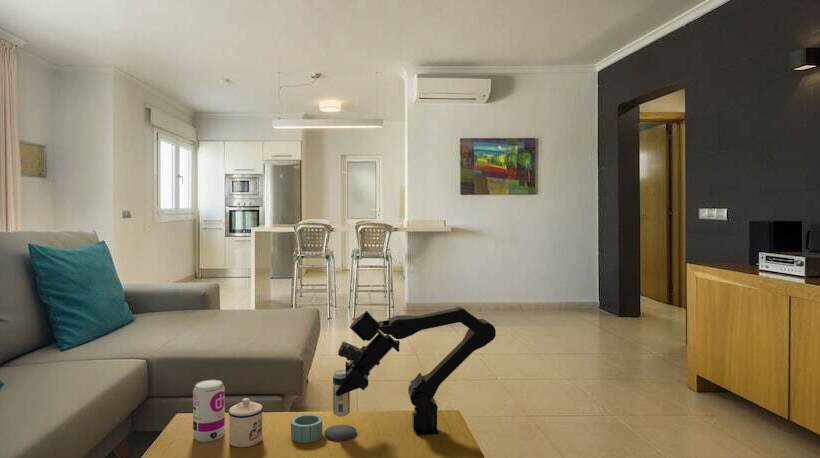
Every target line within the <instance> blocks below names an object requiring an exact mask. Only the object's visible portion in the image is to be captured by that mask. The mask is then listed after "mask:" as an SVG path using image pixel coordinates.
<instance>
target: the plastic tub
mask: <svg viewBox="0 0 820 458" xmlns="http://www.w3.org/2000/svg"><path fill="white" fill-rule="evenodd" d="M322 437H323V417H322V416H321V415H318V414H313V413H307V414H306V413H305V414H300V415H296V416H294V417H293V418H291V419H290V439H291V440H292V441H293V442H295V443H299V444H308V443H315V442H317V441H319V440H320V439H321V438H322Z"/></svg>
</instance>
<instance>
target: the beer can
mask: <svg viewBox="0 0 820 458" xmlns="http://www.w3.org/2000/svg"><path fill="white" fill-rule="evenodd" d="M345 370H346V369H344V370H343V369H342V370H341V369H340V370H335V371H334V372H333V375H332V406H333V407H332V408H333V409H332V410H333V411H332V414H333V415H334V416H336V417H346V416H348V415H349V414H350V413H351V409H350V406H351V405H350V402H351V401H350V399H351V398H350V392H351V391H350V392H347V393H345V394H343V395H340V396H337V395H336V394H335V393H336V391H337V390H338V388H339V387H340V386H341V384H342V383H343V381H344V380H345V378H346V371H345Z"/></svg>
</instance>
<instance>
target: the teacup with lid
mask: <svg viewBox="0 0 820 458" xmlns="http://www.w3.org/2000/svg"><path fill="white" fill-rule="evenodd" d="M263 411H264V407H263V405H262V404H261V403H259V402H254V401H251V400H250V398H248V397H246V398H242V401H240V402H238V403H237V404H235V405H233V406H231V407H230V408H229V409H228V415H229V418H228V419H229V420H228V421H229V422H228V423H229V424H228V425H229V430H228V431H229V432H228V433H229V435H228V437H229V438H228V439H229V441H228V442H229V444H230V445H231V446H232V447H235V448H249V447H252V446H255V445H258V444H259V443H260V442H261V441H262V440H263Z"/></svg>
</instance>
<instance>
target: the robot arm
mask: <svg viewBox="0 0 820 458" xmlns="http://www.w3.org/2000/svg"><path fill="white" fill-rule="evenodd" d="M458 323H461V324H462V325H464V326H465V327H467V328H468V329H467V330H466V333H465V335H464V337H463V339H462V340H461V341H460V342H459V343H458V344H457V345H455V347H454V348H453V349H452V350H451V351H450V352H449V353H448V354H447V355H446V356H445V357H444V358H443V359H442V360H441V361H440V362H439V363H438V364H437V365H436V366H435V367H434V368H433V369H432V370H431V371H430V372H428V373H427V374H425V375H423V374H422V373H421V372H419V373H418V374H417V375H416V377H415V378H413V379H412V380H410V381H409V382H410V384H409V386H408V389H407V390H408V391H407V393H408V397H409V399H410V403H411V404H412V405H413V407H414V408H413V412H412V414H411V415H412V416H411V421H412V422H411V423H412V424H411V428H412V429H413V430H414V433H415V434H416V435H418V436H419V435H429V434H430V435H431V434H432V435H434V434H439V433H440V432H439V429H438V409H439V406H438V404H437V402H436V400H435V395H436V393H437V391H438V389H439V387H440V386H441V385H442V383H443V382H444V381H445V380H446V379H447V378H448V377H449V376H450V375H452V374H453V372H455V370H457V369H458V367H460V365H462V363H464V362H465V360H467V359H468V358H469V356H471V355H472V354H473V352H475V351H478V350H479V349H483V348H484V347H486V346H487V345H488V344H489V343H491V342H492V341H494V339H495V338H496V336H497V335H496V334H497V332H496V327H495V326H494V325H493V324H492V323H491V322H489V321H488V320H486V319H485V318H477V317H475V316H474V315H473V314H472V313H470V312H469V311H467V310H466V309H465V308H464V307H462V306H456V307H454V308H450V309H444V310H440V311H435V312H430V313H425V314H421V315H411V314H409V315H407V314H402V315H400V314H399V315H393V316H392V317H390V319H386V320H380V321H378V320H376V319H375V318H374V317H373V316H372V314H370V312H369V311H368V310H365V311H364V312H363V313H362V314H360V315H359V316H357V317H356V318H355V319H354V320H353V322H351V324H350V326H349V329H350V330H351V331H352V332H354V334H355V335H356V336H357V337H359V338H360V340H362V341H363V342H365V341H367V342H368V341H369V343H368V344H367V345H363V346H362V347H361V348H359V347H358V346H357V345H356V346H355V345H353V344H350V343H348V342H346V341H342V343H341V344H340V347H339V348H338V351H337V355H338V356H339V357H341V358H346V360H347V361H345V369H344V370H345V371H346V378H345V380H344V381H343V383H342V384H341V386H340V387H339V388H338V390H337V391H336V393H335V394H336V395H337V396H340V395H343V394H345V393H347V392H352V391H354V390H358V389H360V390H362V391H365V390H366V389H367V388H368V387H369V376H370V375H371V373H370V372H371V371H372V370H373V369H374V368H375V367H376V366H377V367H379V365H380V364H381V360H382V359H384V357H385V356H386V355H387V354H388V353H389V352H390V351H391V350H392V349H394V350H395V351H396V352H397V353H399V352H400V351H401V350H400V344H401V343H400V340H402V339H405V338H409V337H411V336H413V335H415V334H417V333H418V332H421V331H424V330H428V329H434V328H438V327H442V326H443V327H444V326H448V325H452V324H458ZM395 339H396V340H395Z"/></svg>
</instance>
